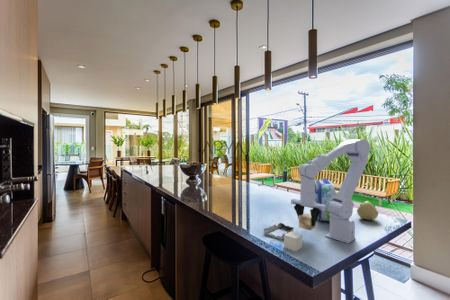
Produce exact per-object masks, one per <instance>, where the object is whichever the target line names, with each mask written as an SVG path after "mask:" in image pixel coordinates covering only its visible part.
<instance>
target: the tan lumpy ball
mask: <svg viewBox="0 0 450 300" xmlns="http://www.w3.org/2000/svg"><path fill="white" fill-rule="evenodd" d="M356 213H357V215H358V216H359V218H360V219H361V220H367V221H375V220H376V219H377V218H378V216H379V211H378V210H377V208H376V206H375V204H373V203H371V202H370V201H369V200H366V201H364V202H362V203H360V205H359V207H357V209H356Z"/></svg>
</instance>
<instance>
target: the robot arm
mask: <svg viewBox="0 0 450 300" xmlns="http://www.w3.org/2000/svg"><path fill="white" fill-rule="evenodd" d="M371 150H372V147H371V145H370V142H369V141H368V139H366V138H365V139H364V138H360V139H359V138H358V139H346V140H344V141H341V142H340V144H339V145H337V146H336V147H334V148H333V149H332V150H330V151H329V152H327V153H326V154H324V153H322V154H321V153H320V154H319V153H318V154H317V155H316V157H314V158H313V159H311V160H310V159H309V160H307V163H303V164H301V165H300V166H299V168H298V170H297V172H298V175H299V176H300V195H299V196H300V199H298V198H297V199H295V198H292V199H290V205H294V206H293V208H294V211H295V212H296V215H297V219H298V220H299V215H301V214H304V213H305V207H306V208H310V210H309V212H310V215H311V225H312V226H315V225H316V224H317V221H318V219H317V218H318V215H319V214H320V212H321V211H324V210H325V205H322V204H319V203H315V183H316V178H317V177H318V175H319V173H320V172H321V171H323V170H324V169H326V168H327V167H329V166H330V165H331V161H334V160H335V159H337V158H339V157H341V156H343V155H346V156H347V157H348V158H349V159H350V161H351V164H350V166H349V168H348V170H347V172H346V174H345V177H344V179H343V181H342V183H341V186H340V187H339V190H338V192H337V193H336V195H334V196H332V198H331V200H330V201H328V203H327V206H326V208H327V211H328V212H329V215H330V221H329V233H327V234H326V235H325V237H326V238H330V239H333V240H336V241H340V242H343V243H346V244H350V243H351V242H352V241H354V239H356V237H355V233H356V232H355V230H356V225H355V224H356V223H355V220H353V219H351V217H352V215H353V213H354V212H353V211H354V210H353V209H354V206H355V204H354V202H353V200H352V197H353V195H354V192H355V190H356V189H357V186H358V185H359V182H360V180H361V177H362V176H363V173H364V171H365V170H366V166H367V163H368V158H369V154H370V152H371Z"/></svg>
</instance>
